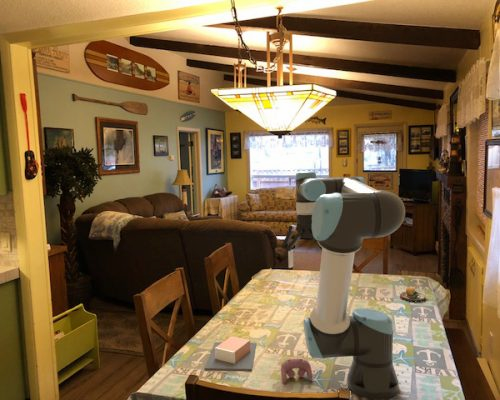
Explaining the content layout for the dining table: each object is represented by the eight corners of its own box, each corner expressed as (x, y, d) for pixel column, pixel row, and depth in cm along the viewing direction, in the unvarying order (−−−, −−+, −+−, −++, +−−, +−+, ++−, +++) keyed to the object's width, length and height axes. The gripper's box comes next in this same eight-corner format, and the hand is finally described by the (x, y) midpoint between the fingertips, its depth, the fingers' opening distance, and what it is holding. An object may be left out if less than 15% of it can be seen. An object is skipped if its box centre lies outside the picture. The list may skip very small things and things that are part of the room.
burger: (429, 302, 200) (429, 287, 199) (404, 303, 200) (404, 288, 200) (419, 294, 212) (420, 280, 211) (396, 295, 212) (396, 280, 212)
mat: (251, 370, 140) (251, 368, 140) (204, 369, 142) (204, 368, 141) (256, 344, 160) (256, 342, 160) (214, 343, 161) (214, 342, 161)
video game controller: (311, 380, 136) (308, 357, 138) (313, 381, 132) (311, 357, 134) (281, 382, 135) (279, 359, 138) (282, 383, 131) (280, 359, 133)
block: (231, 336, 157) (214, 347, 148) (250, 340, 153) (233, 352, 144) (232, 346, 157) (215, 358, 148) (250, 350, 153) (234, 363, 144)
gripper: (342, 213, 152) (342, 270, 154) (281, 210, 165) (282, 263, 167) (334, 216, 145) (335, 275, 147) (272, 213, 159) (273, 267, 161)
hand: (307, 269), depth 157 cm, fingers open, 13 cm apart
